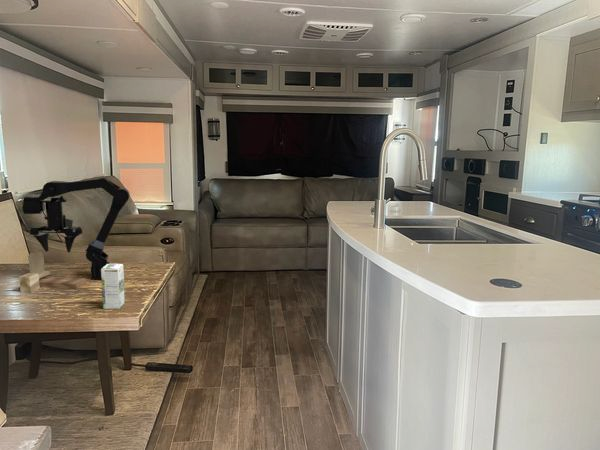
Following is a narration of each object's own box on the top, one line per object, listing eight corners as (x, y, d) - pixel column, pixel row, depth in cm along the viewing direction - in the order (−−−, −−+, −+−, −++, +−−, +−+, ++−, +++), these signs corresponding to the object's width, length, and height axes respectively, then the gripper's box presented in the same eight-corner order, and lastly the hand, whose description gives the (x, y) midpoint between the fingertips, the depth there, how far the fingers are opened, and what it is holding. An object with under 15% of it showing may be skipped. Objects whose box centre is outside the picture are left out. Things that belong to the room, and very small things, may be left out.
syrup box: (108, 303, 157) (105, 263, 154) (125, 303, 158) (123, 263, 155) (102, 309, 152) (99, 268, 149) (120, 309, 152) (118, 268, 149)
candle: (38, 277, 185) (36, 253, 183) (26, 276, 186) (24, 253, 184) (48, 273, 190) (46, 250, 188) (37, 272, 191) (34, 249, 189)
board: (86, 283, 178) (85, 278, 178) (76, 288, 172) (76, 283, 171) (38, 281, 180) (38, 276, 179) (27, 286, 173) (27, 281, 173)
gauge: (53, 281, 180) (52, 267, 179) (30, 293, 166) (29, 277, 165) (44, 281, 180) (42, 266, 179) (20, 292, 167) (18, 277, 165)
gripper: (88, 210, 183) (91, 248, 186) (45, 209, 184) (48, 246, 187) (72, 215, 172) (75, 254, 175) (26, 213, 174) (30, 252, 176)
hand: (57, 251), depth 179 cm, fingers open, 9 cm apart
